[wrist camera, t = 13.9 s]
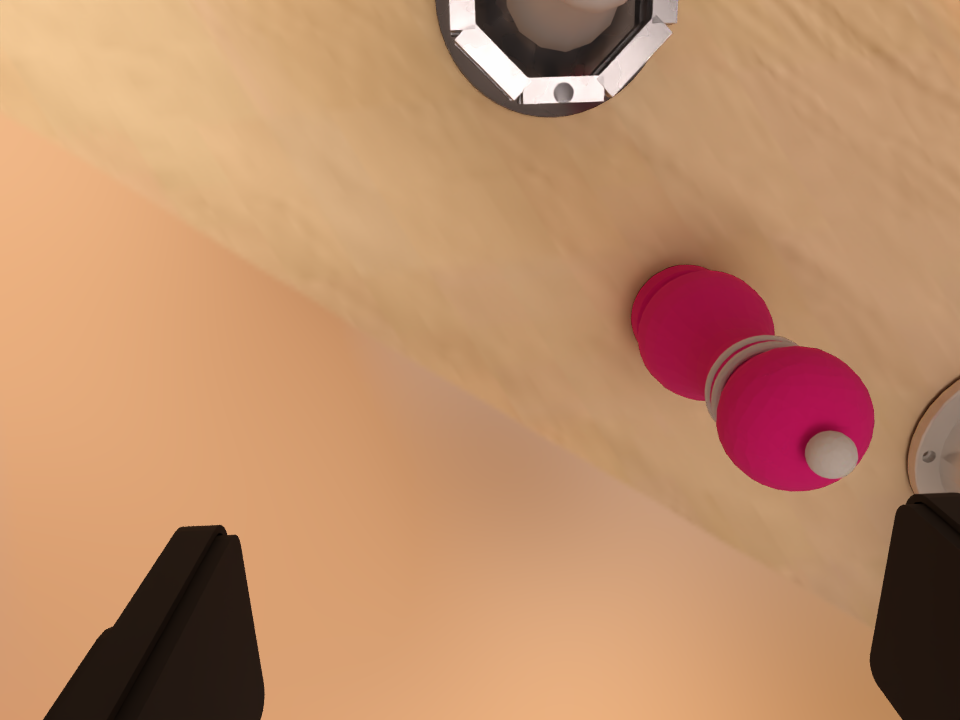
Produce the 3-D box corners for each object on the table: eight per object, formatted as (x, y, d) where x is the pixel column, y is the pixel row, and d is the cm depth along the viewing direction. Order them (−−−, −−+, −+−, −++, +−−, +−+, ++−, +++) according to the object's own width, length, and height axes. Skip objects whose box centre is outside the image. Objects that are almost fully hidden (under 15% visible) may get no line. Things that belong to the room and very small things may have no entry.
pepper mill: (617, 368, 46) (729, 552, 27) (627, 254, 44) (758, 370, 25) (730, 369, 46) (919, 552, 27) (746, 256, 44) (965, 372, 25)
